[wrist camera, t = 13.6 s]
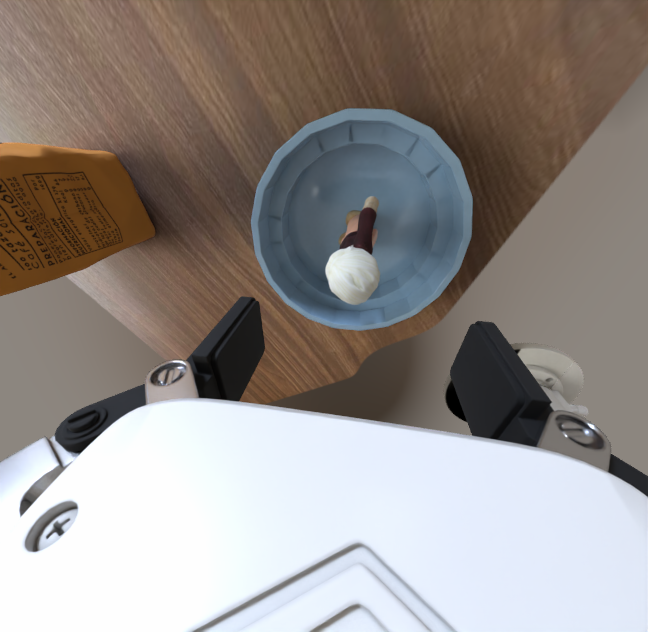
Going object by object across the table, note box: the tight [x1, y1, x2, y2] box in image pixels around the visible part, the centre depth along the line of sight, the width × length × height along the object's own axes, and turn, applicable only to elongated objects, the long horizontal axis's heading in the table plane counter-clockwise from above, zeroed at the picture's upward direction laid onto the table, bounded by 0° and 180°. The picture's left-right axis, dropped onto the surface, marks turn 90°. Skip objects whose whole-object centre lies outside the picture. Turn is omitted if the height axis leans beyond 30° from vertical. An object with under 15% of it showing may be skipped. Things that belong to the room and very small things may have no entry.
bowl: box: [251, 108, 473, 331], centre depth 23 cm, size 17×17×6 cm
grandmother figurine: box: [325, 196, 380, 305], centre depth 19 cm, size 8×4×13 cm, turn 172°
